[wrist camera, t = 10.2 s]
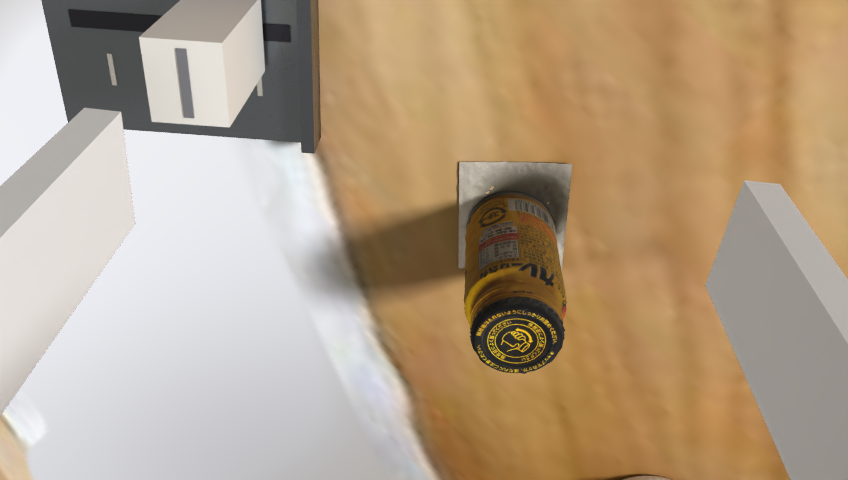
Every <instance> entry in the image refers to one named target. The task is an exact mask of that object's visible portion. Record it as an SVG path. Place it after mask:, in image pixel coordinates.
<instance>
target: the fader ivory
mask: <svg viewBox="0 0 848 480" xmlns="http://www.w3.org/2000/svg"><path fill="white" fill-rule="evenodd" d="M139 41H140V48H141V54H142V61H143V68H144V74H145V81H146V87H147V94H148V101H149V107H150V114H151V120H152V122H162V123H175V124H189V125H203V126H216V127H230V126H231V125H232V123H233V121H234V120H235V118H236V117H237V115H238V113H239V112H240V110H241V109H242V107H243V105H244V104H245V102H246V101H247V99H248V97H249V96H250V94H251V93H252V91H253V89H254V88H255V86H256V85H257V83H258V81H259V80H260V78H261V77H262V75H263V73H264V72H265V61H264V44H263V28H262V11H261V0H180V1H179V2H178V3H177V4H175V5H174V6H173V7H172V8H171V9H170V10H169V11H168V12H166V13H165V14H164V15H163V16H162V17H161V18H160V19H159V20H158V21H156V22H155V23H154V24H153V25H152V26H151V27H150V28H149V29H147V30H146V31H145V32H144V33H143V34H142V35H141V36H140V37H139Z"/></svg>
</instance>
